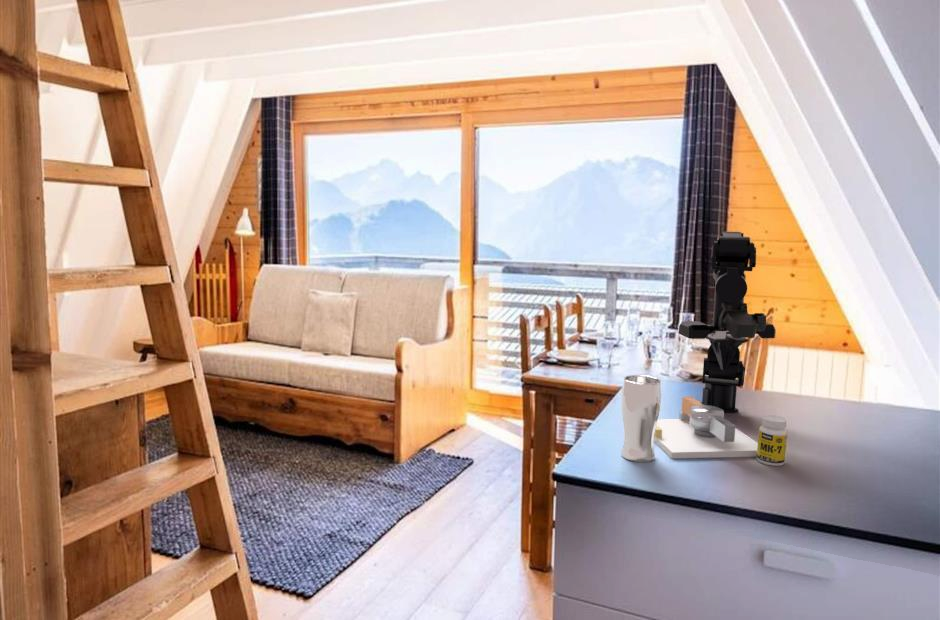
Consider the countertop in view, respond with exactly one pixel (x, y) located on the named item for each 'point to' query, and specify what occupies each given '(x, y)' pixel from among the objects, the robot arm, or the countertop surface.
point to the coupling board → (699, 441)
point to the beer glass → (640, 416)
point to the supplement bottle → (772, 440)
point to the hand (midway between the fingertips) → (723, 369)
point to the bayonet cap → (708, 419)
